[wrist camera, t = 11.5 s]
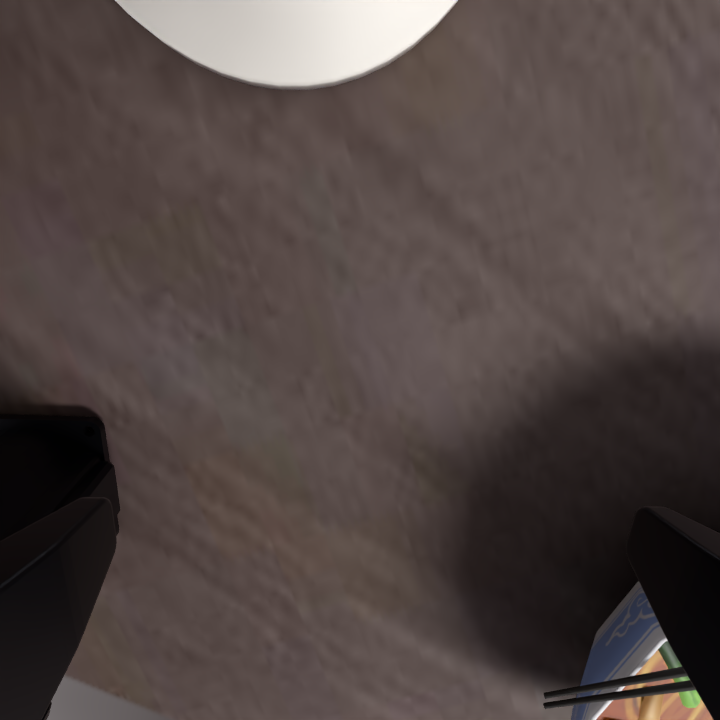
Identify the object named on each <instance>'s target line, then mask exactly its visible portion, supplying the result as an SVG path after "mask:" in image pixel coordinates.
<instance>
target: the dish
mask: <svg viewBox="0 0 720 720" xmlns="http://www.w3.org/2000/svg"><path fill="white" fill-rule="evenodd" d="M115 1H116V2H117V3H118V4H119V5H120V6H121V7H122V8H123V9H124V10H125V11H126V12H127V13H128V14H129V15H130V16H131V17H133V18H134V19H135V20H136V21H137V22H139V23H140V24H141V25H142V26H143V27H145V28H146V29H147V30H148V31H149V32H151V33H152V34H153V35H155V36H156V37H157V38H158V39H160V40H161V41H162V42H163V43H165V44H166V45H167V46H168V47H170V48H171V49H172V50H174V51H175V52H177V53H179V54H180V55H182V56H184V57H185V58H187V59H188V60H190V61H192V62H193V63H195V64H197V65H198V66H200V67H202V68H205V69H207V70H209V71H211V72H214V73H216V74H218V75H220V76H223V77H225V78H228V79H231V80H234V81H238V82H241V83H245V84H248V85H251V86H256V87H263V88H270V89H277V90H312V89H319V88H325V87H332V86H337V85H340V84H343V83H347V82H350V81H353V80H356V79H360V78H362V77H364V76H366V75H369V74H371V73H373V72H375V71H377V70H379V69H381V68H383V67H385V66H387V65H389V64H390V63H392V62H393V61H395V60H396V59H398V58H399V57H401V56H402V55H404V54H405V53H407V52H408V51H410V50H411V49H412V48H413V47H414V46H416V45H417V44H418V43H419V42H420V41H421V40H422V39H424V38H425V37H426V36H427V35H428V34H429V33H430V32H432V31H433V30H434V28H435V27H436V26H437V25H438V24H439V23H440V22H441V21H442V19H443V18H444V17H445V16H446V15H447V14H448V13H449V11H450V10H451V9H452V8H453V7H454V5H455V4H456V2H457V1H458V0H115Z"/></svg>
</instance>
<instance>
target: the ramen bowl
mask: <svg viewBox="0 0 720 720" xmlns="http://www.w3.org/2000/svg"><path fill="white" fill-rule="evenodd" d="M572 694H577V697H576V698H572V699H566V700H560V701H553V702H547V703H543V705H544V708H545V709H546V708H554V707H563V706H571V705H574V706H573V710H572V717H571V720H713V718H712V717H711V715H710V713H709V711H708V710H707V708H706V706H705V705H704V703H703V701H702V700H701V698H700V696H699V694H698V693H697V691H696V689H695V688H694V686H693V684H692V683H691V681H690V679H689V678H688V676H687V674H686V672H685V671H684V669H683V667H682V666H681V664H680V662H679V661H678V659H677V657H676V655H675V653H674V652H673V650H672V648H671V646H670V644H669V643H668V641H667V639H666V637H665V635H664V633H663V631H662V629H661V627H660V625H659V622H658V620H657V618H656V616H655V614H654V612H653V610H652V608H651V606H650V604H649V601H648V599H647V597H646V595H645V593H644V591H643V589H642V587H641V585H640V583H639V581H638V582H637V583H636V584H635V585H634V587H633V588H632V589H631V590H630V592H629V593H628V594H627V595H626V596H625V598H624V599H623V600H622V601H621V603H620V604H619V605H618V606H617V608H616V609H615V610H614V611H613V612H612V614H611V615H610V616H609V617H608V619H607V620H606V621H605V622H604V623H603V625H602V626H601V627H600V628H599V630H598V631H597V632H596V635H595V638H594V641H593V645H592V648H591V651H590V654H589V658H588V661H587V664H586V667H585V671H584V674H583V677H582V680H581V684H580V686H578V687H572V688H567V689H562V690H557V691H552V692H546V693H544V696H545V699H546V698H552V697H559V696H565V695H572Z"/></svg>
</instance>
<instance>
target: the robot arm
mask: <svg viewBox="0 0 720 720" xmlns="http://www.w3.org/2000/svg"><path fill="white" fill-rule="evenodd" d="M87 426H90V427H92V428H93V429H94V431H95V432H91V431H89V430H88V428H87ZM119 511H120V505H119V498H118V490H117V483H116V476H115V469H114V466H113V464H112V463H111V462H110V461H109V454H108V447H107V440H106V433H105V427H104V424H103V423H102V421H101V420H99V419H98V418H95V417H78V416H38V415H0V720H47V718H48V716H49V713H50V708H51V704H52V703H51V700H52V698H53V696H54V694H55V692H56V690H57V688H58V686H59V684H60V682H61V680H62V678H63V676H64V674H65V672H66V670H67V668H68V666H69V665H70V662H71V660H72V658H73V656H74V654H75V652H76V650H77V648H78V646H79V643H80V641H81V638H82V636H83V634H84V631H85V629H86V626H87V623H88V621H89V618H90V616H91V613H92V610H93V608H94V605H95V603H96V600H97V597H98V595H99V592H100V590H101V587H102V584H103V582H104V579H105V577H106V574H107V571H108V569H109V566H110V564H111V561H112V558H113V556H114V553H115V549H116V536H117V534H118V533H119V525H118V518H117V514H118V513H119ZM626 553H627V557H628V559H629V562H630V564H631V566H632V568H633V570H634V572H635V574H636V576H637V578H638V580H639V583H640V585H641V587H642V589H643V591H644V593H645V595H646V597H647V599H648V601H649V604H650V606H651V608H652V610H653V612H654V614H655V616H656V618H657V620H658V622H659V625H660V627H661V629H662V631H663V633H664V635H665V637H666V639H667V641H668V643H669V644H670V646H671V648H672V650H673V652H674V653H675V655H676V657H677V659H678V661H679V662H680V664H681V666H682V667H683V669H684V671H685V672H686V674H687V676H688V678H689V679H690V681H691V683H692V684H693V686H694V688H695V689H696V691H697V693H698V694H699V696H700V698H701V700H702V701H703V703H704V705H705V706H706V708H707V710H708V711H709V713H710V715H711V717H712V718H713V720H720V533H718V532H716V531H714V530H712V529H710V528H708V527H706V526H704V525H702V524H700V523H698V522H696V521H693V520H691V519H689V518H687V517H685V516H683V515H681V514H679V513H677V512H675V511H673V510H671V509H669V508H667V507H663V506H642V507H640V508H638V510H637V511H636V513H635V516H634V519H633V522H632V525H631V529H630V532H629V535H628V539H627V542H626Z"/></svg>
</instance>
